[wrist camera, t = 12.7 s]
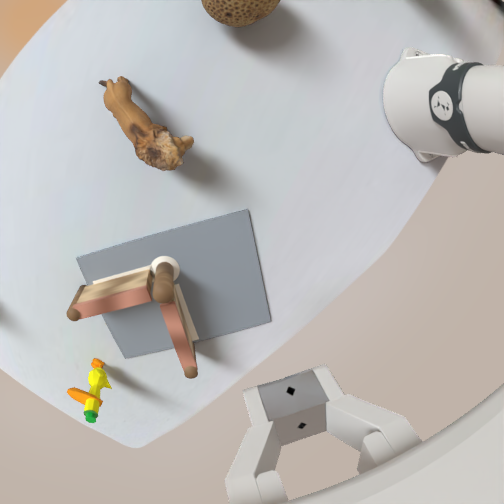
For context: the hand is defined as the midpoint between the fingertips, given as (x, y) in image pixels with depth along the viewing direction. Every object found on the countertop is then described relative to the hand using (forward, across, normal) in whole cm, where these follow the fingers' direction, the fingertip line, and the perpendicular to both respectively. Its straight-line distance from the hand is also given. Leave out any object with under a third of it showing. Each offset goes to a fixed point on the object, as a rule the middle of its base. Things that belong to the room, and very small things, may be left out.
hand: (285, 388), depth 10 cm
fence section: (+31, +14, +8) cm, 35 cm away
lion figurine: (+31, +5, -11) cm, 34 cm away
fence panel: (+30, +8, +16) cm, 35 cm away
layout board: (+31, +7, +12) cm, 34 cm away
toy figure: (+31, +25, +21) cm, 45 cm away
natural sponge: (+31, -8, -24) cm, 40 cm away
